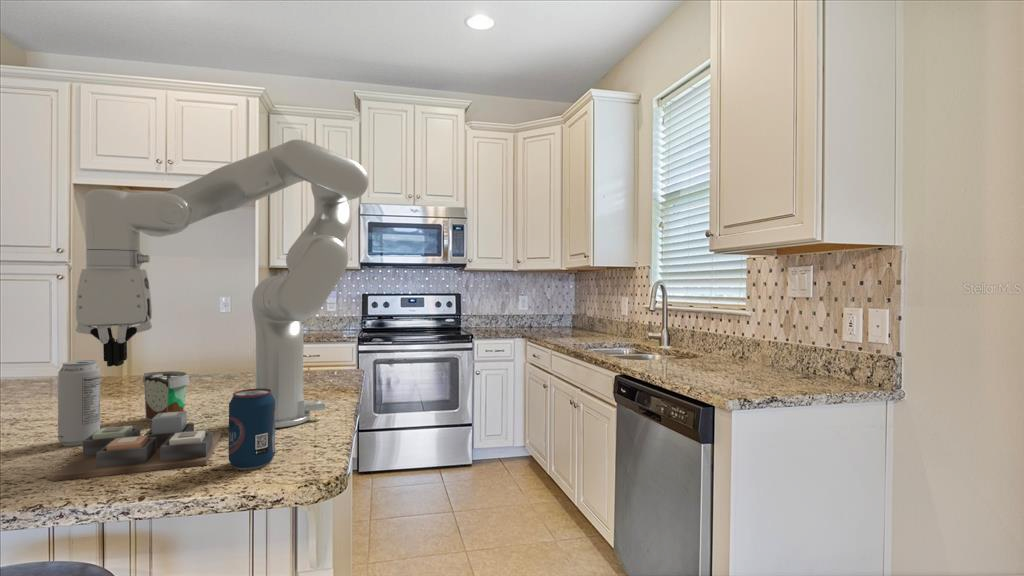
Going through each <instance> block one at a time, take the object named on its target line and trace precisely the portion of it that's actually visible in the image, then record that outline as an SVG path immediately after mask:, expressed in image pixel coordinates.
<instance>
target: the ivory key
mask: <svg viewBox="0 0 1024 576" xmlns="http://www.w3.org/2000/svg"><path fill="white" fill-rule="evenodd" d="M205 432H206V430H205V429H204V430H196V431H195V430H194V431H193V432H181V433H175V434H174V435H173V437H172V438H171V439H170V440H169V445H175V444H186V443H197V442H203V441H204V439H205Z"/></svg>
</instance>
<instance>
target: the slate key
mask: <svg viewBox="0 0 1024 576" xmlns="http://www.w3.org/2000/svg"><path fill="white" fill-rule="evenodd" d="M187 412H188V411H187V410H184V411H181V412H168V413H158V414H157V415H156V416H155V417H154V418H153V419H152V421H151V428H152V434H162V433H174V432H182V431H183V430H184V429H185V427H186V426H187V424H188V421H187V420H188V418H187V417H188V416H187V415H188V413H187Z"/></svg>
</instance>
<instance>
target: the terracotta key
mask: <svg viewBox="0 0 1024 576" xmlns="http://www.w3.org/2000/svg"><path fill="white" fill-rule="evenodd" d="M147 442H148V435H147V436H144V435H141V436H135V437H123V438H116V439H114V440H113V441H112V442H111V443H110V444H108V445H107V446H106V451H111V450H122V449H132V448H143V447H144V446H145V445H146V443H147Z"/></svg>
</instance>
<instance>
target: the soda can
mask: <svg viewBox="0 0 1024 576" xmlns="http://www.w3.org/2000/svg"><path fill="white" fill-rule="evenodd" d="M271 392H272V391H271V390H270V389H255V388H247V389H242V390H241V389H240V390H237V391H234V392H233V393H232V397H231V400H230V401H229V403H228V461H229V463H230V464H231V466H232V467H233V468H234V469H235V468H236V470H242V471H244V470H247V469H248V470H255V469H259V468H263V467H266V466H268V465H269V464H271V462H272V460H273V458H274V457H275V454H276V428H275V399H274V397H273V395H272V394H271ZM248 470H247V471H248Z"/></svg>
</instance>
